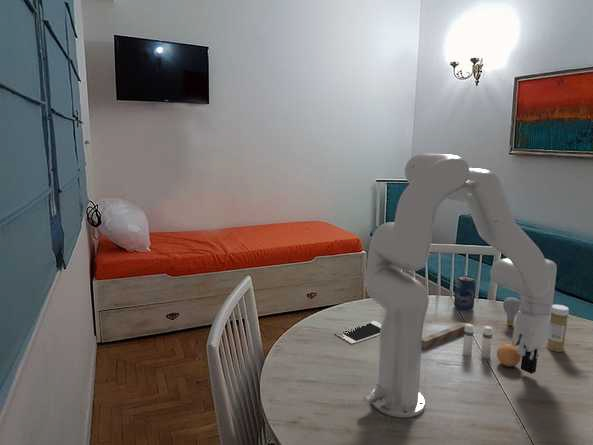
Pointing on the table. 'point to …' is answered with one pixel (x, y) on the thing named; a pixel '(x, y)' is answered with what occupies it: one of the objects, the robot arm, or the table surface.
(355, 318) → the table surface
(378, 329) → the cell phone
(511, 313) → the light bulb
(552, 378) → the table surface
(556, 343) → the sprinkles bottle
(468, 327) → the side pin
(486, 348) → the front pin
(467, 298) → the soda can
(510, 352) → the ball
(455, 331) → the brown wooden bar
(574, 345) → the table surface
